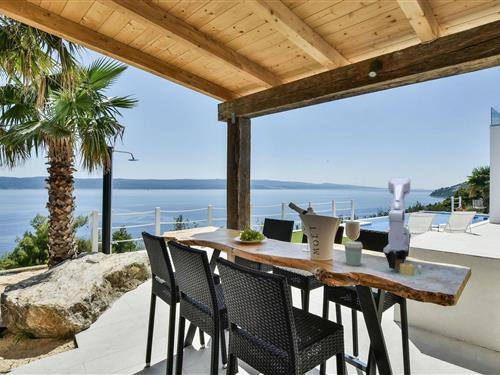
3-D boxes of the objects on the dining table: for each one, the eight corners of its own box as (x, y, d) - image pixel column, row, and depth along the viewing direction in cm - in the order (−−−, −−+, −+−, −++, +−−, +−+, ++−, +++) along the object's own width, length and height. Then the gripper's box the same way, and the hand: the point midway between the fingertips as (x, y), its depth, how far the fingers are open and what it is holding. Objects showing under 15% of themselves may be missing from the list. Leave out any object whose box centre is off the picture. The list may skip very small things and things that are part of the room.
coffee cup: (366, 269, 142) (366, 243, 142) (349, 269, 141) (349, 244, 141) (356, 264, 150) (357, 240, 150) (340, 265, 149) (341, 240, 149)
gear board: (367, 270, 140) (368, 259, 140) (390, 266, 148) (390, 256, 148) (413, 283, 121) (413, 271, 121) (436, 278, 129) (436, 267, 129)
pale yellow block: (399, 274, 129) (399, 264, 129) (400, 271, 134) (400, 262, 134) (413, 276, 126) (413, 266, 126) (414, 273, 131) (414, 264, 131)
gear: (386, 267, 136) (386, 258, 136) (394, 266, 138) (394, 257, 138) (397, 270, 131) (398, 261, 131) (405, 269, 133) (405, 260, 133)
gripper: (394, 239, 128) (393, 271, 128) (415, 237, 135) (414, 267, 135) (379, 236, 134) (379, 267, 134) (400, 235, 141) (399, 264, 141)
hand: (395, 267), depth 135 cm, fingers closed on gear, 5 cm apart
